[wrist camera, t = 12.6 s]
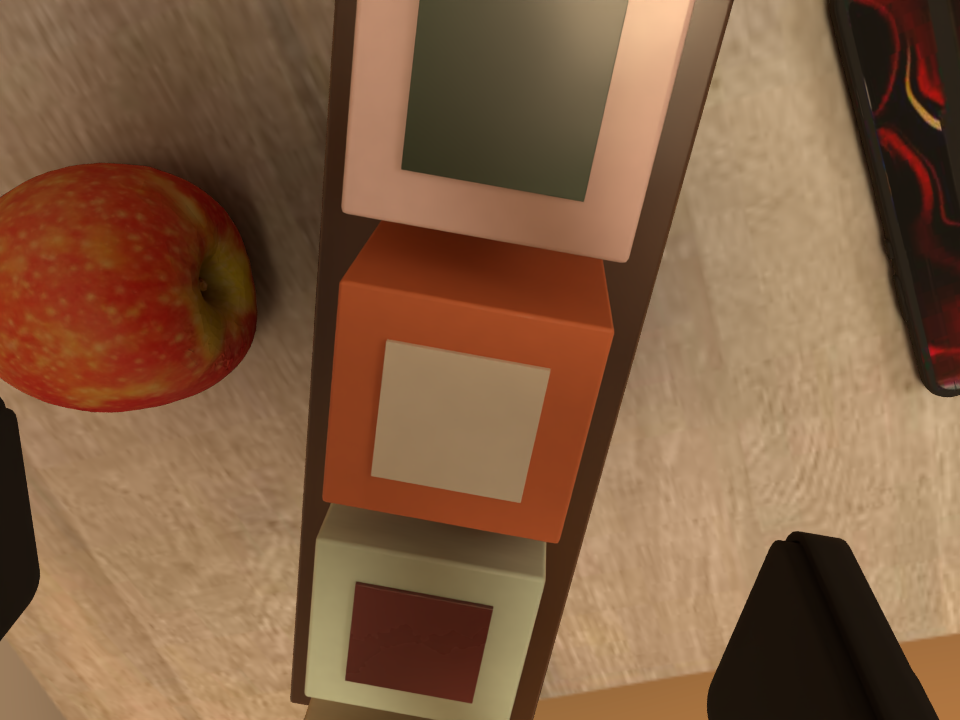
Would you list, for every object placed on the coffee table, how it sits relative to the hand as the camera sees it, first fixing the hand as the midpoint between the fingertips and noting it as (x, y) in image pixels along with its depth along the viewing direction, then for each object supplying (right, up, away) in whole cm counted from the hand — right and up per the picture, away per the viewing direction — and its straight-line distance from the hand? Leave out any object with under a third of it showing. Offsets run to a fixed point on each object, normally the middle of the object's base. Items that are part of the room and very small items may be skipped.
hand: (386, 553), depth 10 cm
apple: (-10, +7, +19) cm, 23 cm away
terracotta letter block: (+1, +3, +8) cm, 9 cm away
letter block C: (+2, +8, +6) cm, 10 cm away
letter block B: (0, -1, +11) cm, 11 cm away
